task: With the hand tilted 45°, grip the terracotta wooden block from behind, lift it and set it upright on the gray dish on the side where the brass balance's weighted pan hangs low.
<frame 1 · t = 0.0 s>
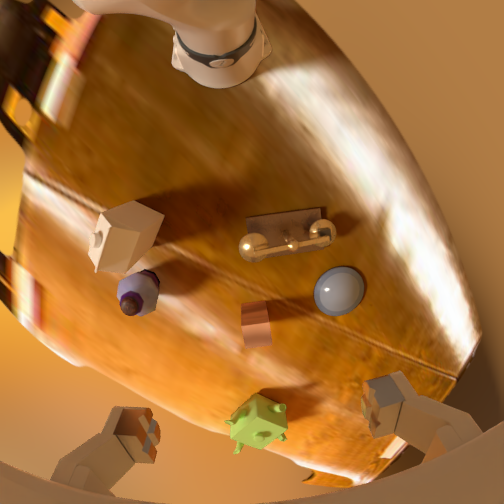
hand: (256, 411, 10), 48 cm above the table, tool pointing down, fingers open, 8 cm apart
milk carton: (143, 223, 56), on the table
kettle: (254, 406, 70), on the table
brass balance: (285, 232, 57), on the table
gray dish: (338, 291, 61), on the table
potion bottle: (147, 281, 60), on the table
terracotta block: (255, 312, 62), on the table
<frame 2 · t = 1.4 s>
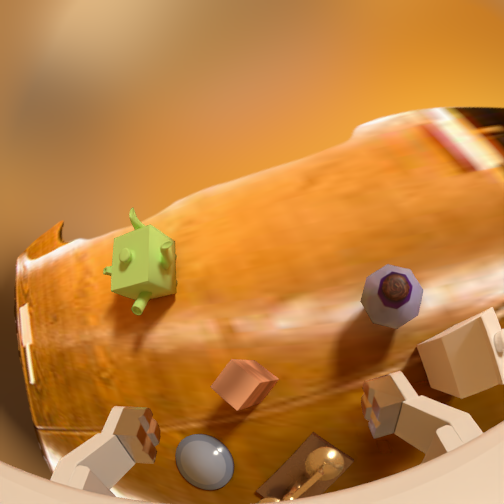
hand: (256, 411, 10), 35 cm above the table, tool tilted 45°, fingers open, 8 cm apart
milk carton: (443, 356, 35), on the table
kettle: (163, 272, 58), on the table
brass balance: (304, 476, 36), on the table
gray dish: (204, 462, 42), on the table
potion bottle: (388, 305, 41), on the table
terracotta block: (257, 381, 44), on the table
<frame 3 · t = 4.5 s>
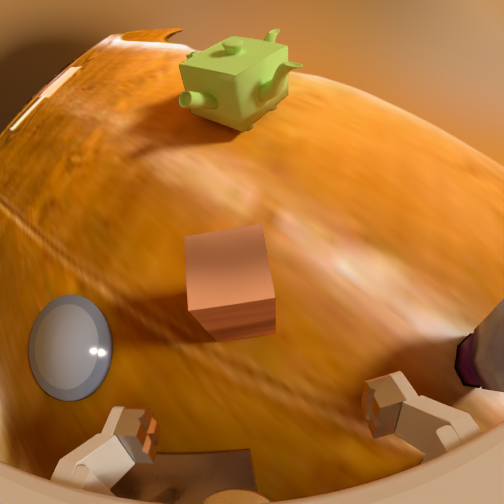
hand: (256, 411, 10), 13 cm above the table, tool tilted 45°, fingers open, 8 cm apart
kettle: (246, 111, 39), on the table
brass balance: (174, 493, 18), on the table
gray dish: (68, 347, 25), on the table
potion bottle: (474, 360, 21), on the table
terracotta block: (242, 310, 26), on the table
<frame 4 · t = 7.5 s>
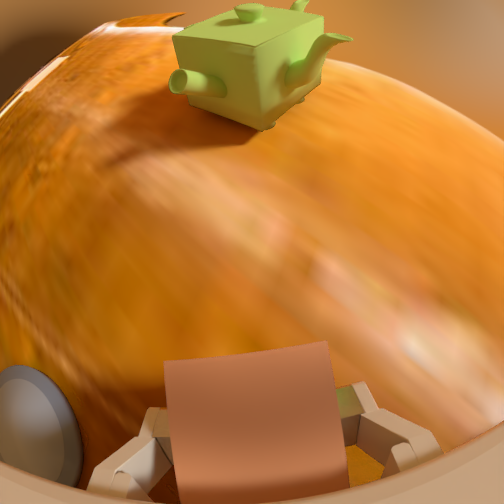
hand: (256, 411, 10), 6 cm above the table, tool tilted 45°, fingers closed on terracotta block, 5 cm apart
kettle: (264, 103, 29), on the table
gray dish: (30, 433, 14), on the table
terracotta block: (265, 417, 15), on the table, touching gripper
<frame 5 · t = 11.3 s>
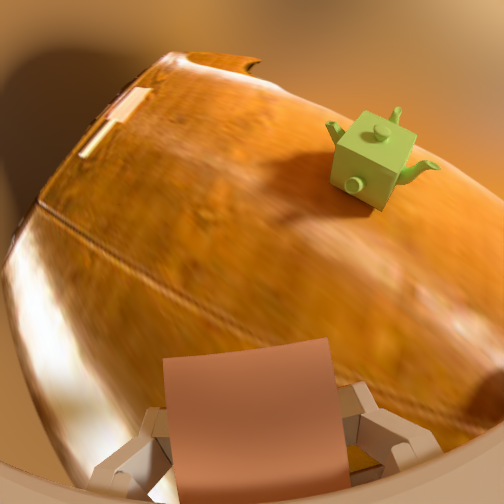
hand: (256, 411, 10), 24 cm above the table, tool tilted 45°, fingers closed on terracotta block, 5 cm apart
kettle: (370, 183, 45), on the table
brass balance: (362, 497, 24), on the table
terracotta block: (265, 416, 15), point 18 cm above the table, touching gripper
when the fingers open (9 cm above the table, at t = 15.3 s): terracotta block drops 1 cm, resting on gray dish.
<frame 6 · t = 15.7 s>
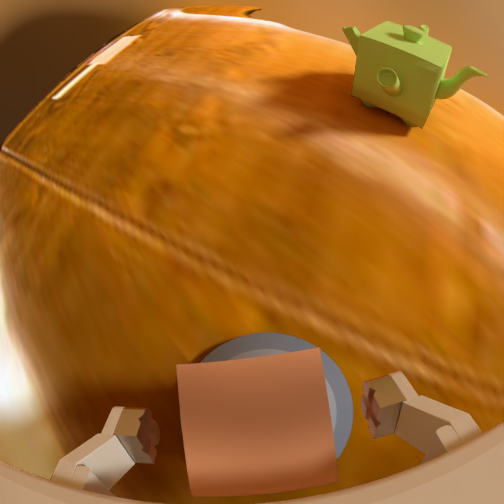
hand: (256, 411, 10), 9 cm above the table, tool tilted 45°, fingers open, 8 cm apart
kettle: (400, 105, 32), on the table
gray dish: (266, 415, 17), on the table
terracotta block: (265, 415, 17), point 1 cm above the table, touching gray dish
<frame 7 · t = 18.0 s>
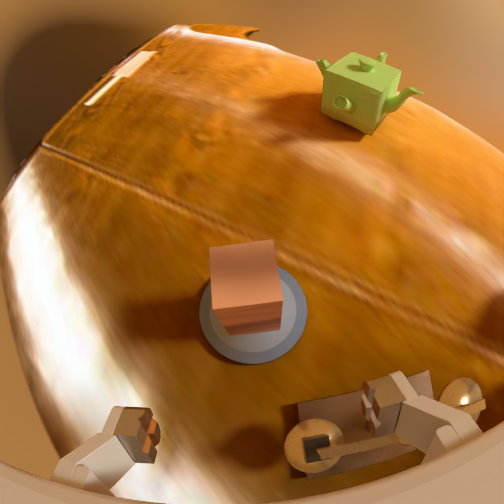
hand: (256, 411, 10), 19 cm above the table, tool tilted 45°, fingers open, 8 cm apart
kettle: (360, 117, 45), on the table
brass balance: (370, 425, 24), on the table
gray dish: (253, 312, 31), on the table
terracotta block: (252, 309, 30), point 1 cm above the table, touching gray dish
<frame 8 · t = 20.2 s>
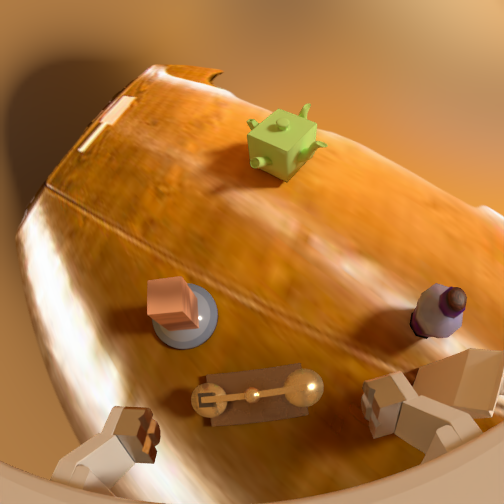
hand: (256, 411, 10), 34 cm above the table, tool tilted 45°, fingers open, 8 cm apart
milk carton: (428, 393, 38), on the table
kettle: (286, 163, 62), on the table
brass balance: (256, 396, 41), on the table
gray dish: (184, 316, 48), on the table
potion bottle: (423, 322, 44), on the table
terracotta block: (183, 314, 47), point 1 cm above the table, touching gray dish
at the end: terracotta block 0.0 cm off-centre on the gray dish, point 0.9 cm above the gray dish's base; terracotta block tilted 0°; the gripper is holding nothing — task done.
